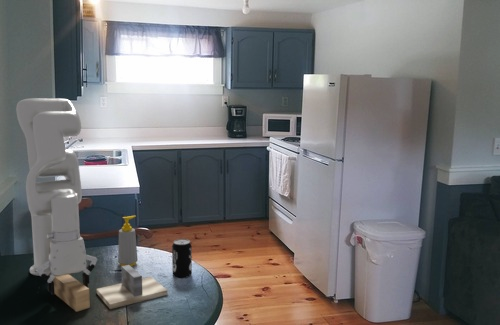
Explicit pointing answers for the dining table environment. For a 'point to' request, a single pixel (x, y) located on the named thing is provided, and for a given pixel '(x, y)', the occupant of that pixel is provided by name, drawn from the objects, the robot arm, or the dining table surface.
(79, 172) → the robot arm
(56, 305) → the dining table surface
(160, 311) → the dining table surface
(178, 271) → the beverage can
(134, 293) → the ridge stand
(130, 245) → the soap bottle
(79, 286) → the oak beam
